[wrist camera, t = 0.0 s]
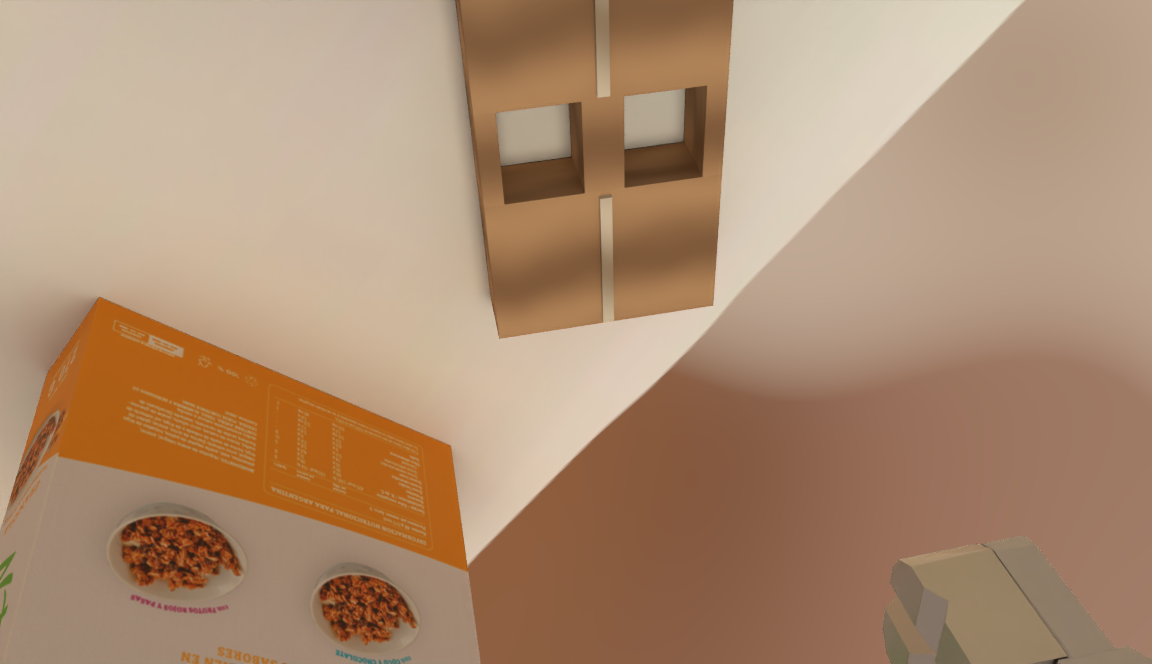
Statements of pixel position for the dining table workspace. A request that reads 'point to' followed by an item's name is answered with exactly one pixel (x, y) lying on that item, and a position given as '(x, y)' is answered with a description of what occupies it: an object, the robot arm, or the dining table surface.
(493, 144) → the wooden compartment tray
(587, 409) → the dining table surface
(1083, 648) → the robot arm
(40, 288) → the dining table surface
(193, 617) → the cereal box
